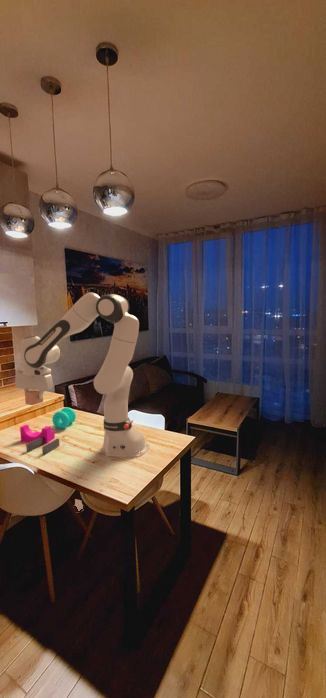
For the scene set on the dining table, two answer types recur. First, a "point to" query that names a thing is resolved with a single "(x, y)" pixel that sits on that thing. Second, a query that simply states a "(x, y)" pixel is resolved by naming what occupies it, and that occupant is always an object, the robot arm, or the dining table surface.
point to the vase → (78, 504)
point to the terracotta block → (32, 397)
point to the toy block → (36, 434)
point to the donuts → (64, 418)
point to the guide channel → (45, 448)
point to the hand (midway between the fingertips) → (34, 397)
